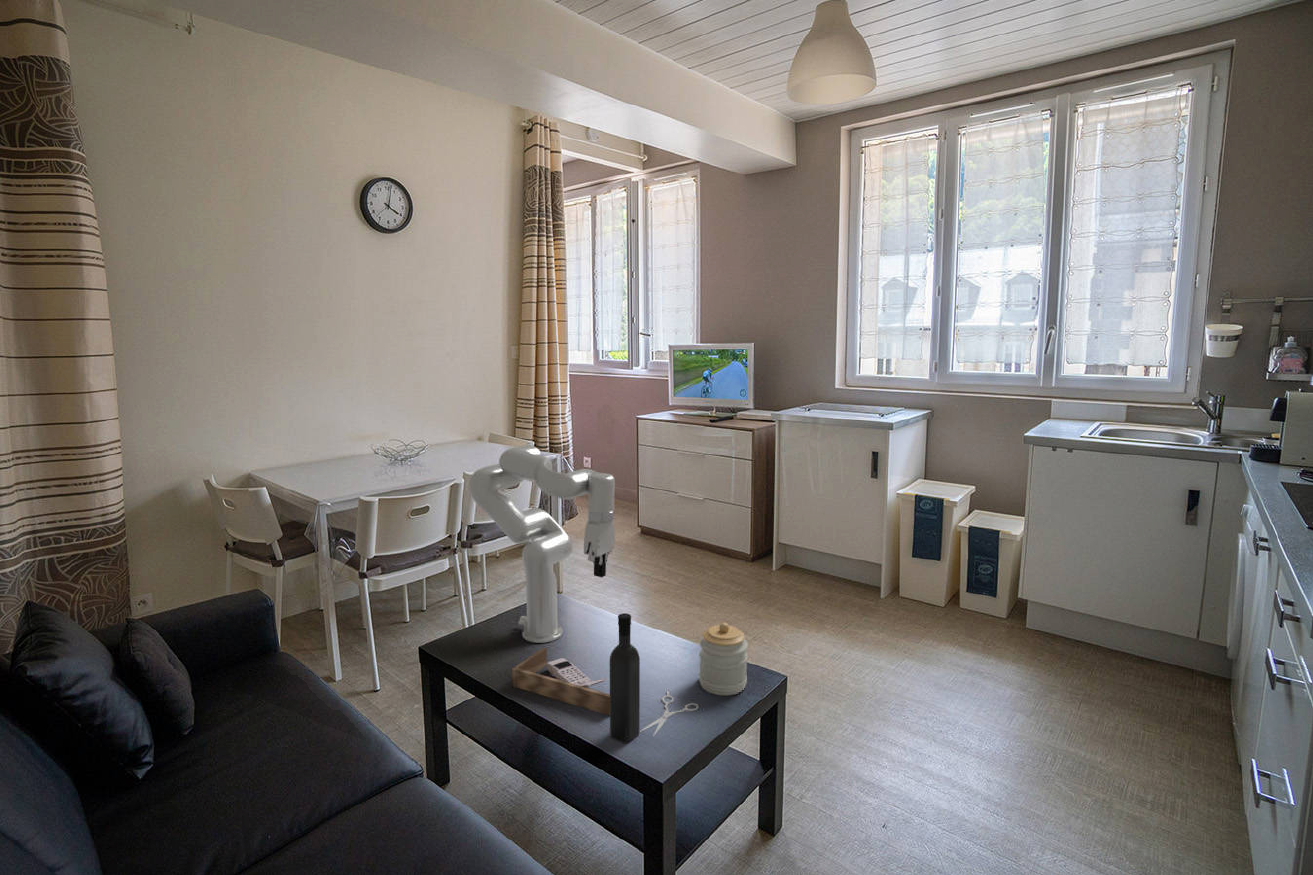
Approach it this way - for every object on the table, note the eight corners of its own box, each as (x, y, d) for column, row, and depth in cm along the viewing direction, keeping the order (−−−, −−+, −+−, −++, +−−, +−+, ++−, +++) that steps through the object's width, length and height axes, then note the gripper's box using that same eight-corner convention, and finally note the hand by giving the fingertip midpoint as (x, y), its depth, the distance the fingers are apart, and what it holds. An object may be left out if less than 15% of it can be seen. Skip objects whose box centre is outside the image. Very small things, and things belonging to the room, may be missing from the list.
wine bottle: (607, 736, 159) (607, 616, 155) (622, 725, 164) (622, 608, 159) (627, 745, 156) (627, 622, 151) (641, 733, 161) (641, 614, 156)
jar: (746, 673, 189) (747, 614, 187) (747, 698, 177) (749, 634, 174) (699, 671, 191) (700, 612, 188) (698, 695, 178) (699, 632, 175)
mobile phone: (587, 685, 171) (541, 648, 191) (587, 707, 172) (541, 668, 192) (607, 678, 175) (560, 643, 195) (607, 700, 176) (560, 662, 195)
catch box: (512, 686, 182) (512, 668, 181) (544, 663, 194) (543, 647, 193) (611, 715, 168) (611, 697, 167) (638, 689, 180) (638, 672, 179)
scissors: (702, 702, 174) (664, 741, 157) (702, 705, 174) (664, 744, 157) (667, 691, 179) (626, 727, 162) (667, 693, 179) (626, 730, 162)
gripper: (605, 508, 204) (603, 565, 207) (575, 519, 191) (574, 580, 194) (625, 512, 200) (624, 571, 203) (596, 524, 187) (595, 586, 190)
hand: (599, 575), depth 199 cm, fingers closed
